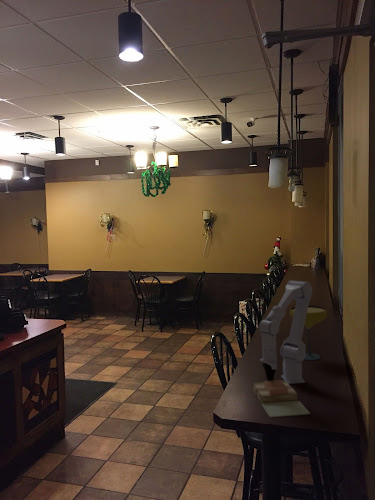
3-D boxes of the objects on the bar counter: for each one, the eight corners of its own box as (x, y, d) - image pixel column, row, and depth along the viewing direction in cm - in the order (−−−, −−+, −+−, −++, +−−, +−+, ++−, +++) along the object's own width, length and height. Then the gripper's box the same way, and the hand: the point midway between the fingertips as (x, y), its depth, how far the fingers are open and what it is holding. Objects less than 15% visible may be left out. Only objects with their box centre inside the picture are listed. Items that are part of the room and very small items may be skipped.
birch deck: (253, 390, 174) (252, 383, 174) (285, 387, 176) (285, 380, 175) (262, 404, 160) (262, 396, 160) (297, 401, 162) (297, 393, 161)
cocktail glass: (284, 358, 214) (283, 310, 212) (302, 349, 226) (301, 304, 225) (317, 365, 201) (316, 314, 199) (334, 356, 214) (333, 308, 212)
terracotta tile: (263, 385, 170) (263, 381, 170) (280, 384, 171) (280, 379, 171) (270, 394, 161) (270, 389, 161) (287, 393, 162) (287, 388, 162)
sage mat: (261, 404, 160) (261, 403, 160) (299, 401, 161) (299, 400, 161) (269, 417, 149) (269, 416, 149) (310, 414, 150) (310, 413, 150)
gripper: (255, 344, 179) (256, 375, 180) (264, 354, 165) (265, 388, 165) (271, 343, 180) (272, 374, 181) (281, 353, 165) (282, 386, 166)
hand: (270, 380), depth 173 cm, fingers closed
